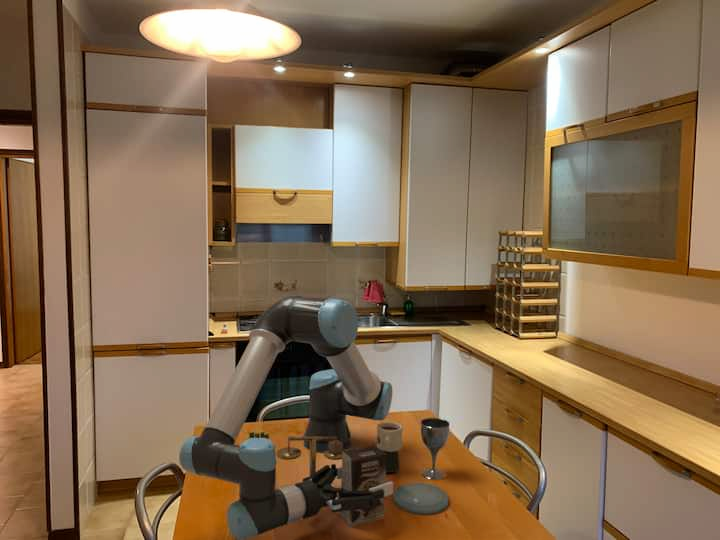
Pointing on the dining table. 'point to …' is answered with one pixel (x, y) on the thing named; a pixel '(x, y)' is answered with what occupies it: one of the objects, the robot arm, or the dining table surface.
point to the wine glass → (434, 442)
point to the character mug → (390, 443)
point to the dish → (421, 498)
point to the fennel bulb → (262, 435)
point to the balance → (312, 449)
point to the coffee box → (364, 480)
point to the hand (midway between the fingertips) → (375, 476)
